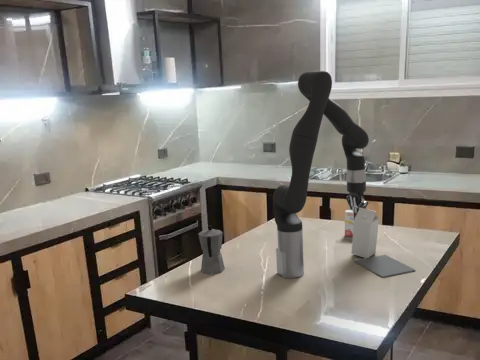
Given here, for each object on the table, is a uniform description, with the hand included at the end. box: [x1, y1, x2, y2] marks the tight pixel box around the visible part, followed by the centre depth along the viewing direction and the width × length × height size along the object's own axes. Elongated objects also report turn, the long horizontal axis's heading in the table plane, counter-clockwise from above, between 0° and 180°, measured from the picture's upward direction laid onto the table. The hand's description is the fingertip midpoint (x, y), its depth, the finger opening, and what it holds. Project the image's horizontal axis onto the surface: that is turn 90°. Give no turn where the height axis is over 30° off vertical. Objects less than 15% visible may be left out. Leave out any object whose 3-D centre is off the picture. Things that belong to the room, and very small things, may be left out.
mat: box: [354, 254, 416, 278], centre depth 177 cm, size 14×18×1 cm
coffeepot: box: [198, 225, 226, 275], centre depth 180 cm, size 15×9×18 cm, turn 179°
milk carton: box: [350, 207, 380, 259], centre depth 187 cm, size 7×7×19 cm
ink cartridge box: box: [344, 203, 354, 238], centre depth 213 cm, size 9×5×15 cm, turn 58°
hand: (357, 220), depth 193 cm, fingers closed
